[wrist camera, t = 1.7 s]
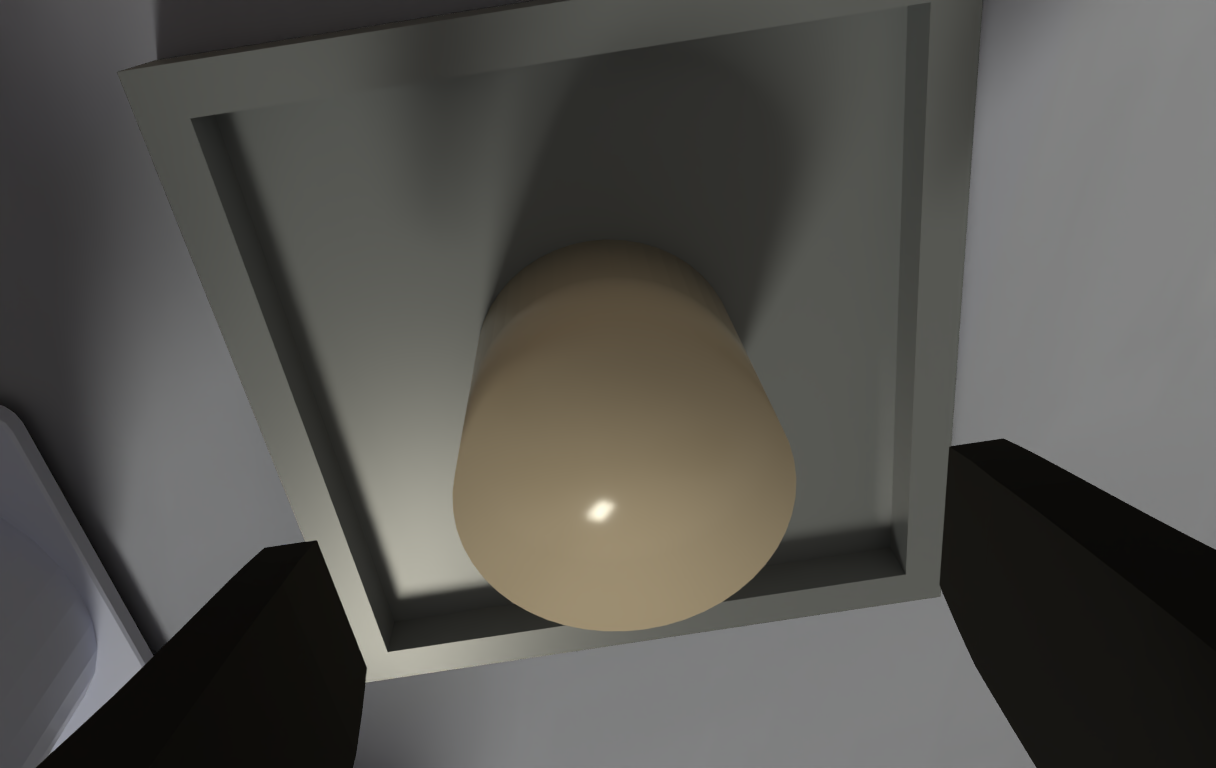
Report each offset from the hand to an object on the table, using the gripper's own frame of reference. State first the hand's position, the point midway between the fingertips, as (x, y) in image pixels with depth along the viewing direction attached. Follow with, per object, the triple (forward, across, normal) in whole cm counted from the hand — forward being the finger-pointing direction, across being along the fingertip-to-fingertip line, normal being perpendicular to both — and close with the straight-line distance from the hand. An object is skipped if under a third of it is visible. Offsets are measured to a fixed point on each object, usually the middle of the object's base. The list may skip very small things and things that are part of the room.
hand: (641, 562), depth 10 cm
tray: (+6, 0, 0) cm, 6 cm away
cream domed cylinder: (+5, 0, 0) cm, 5 cm away
